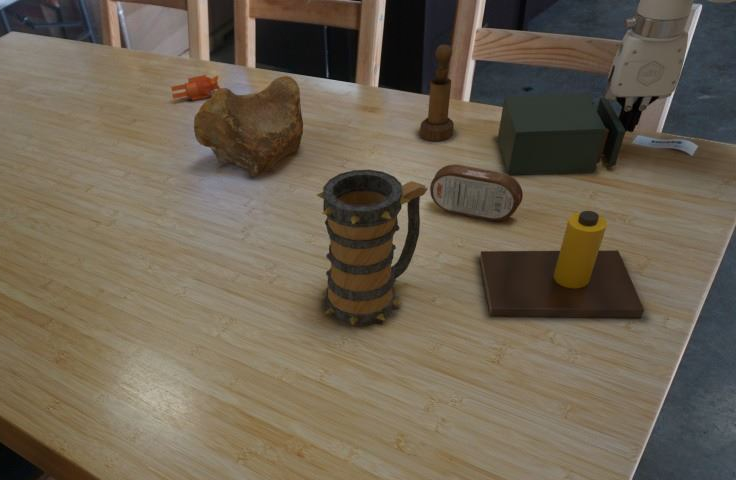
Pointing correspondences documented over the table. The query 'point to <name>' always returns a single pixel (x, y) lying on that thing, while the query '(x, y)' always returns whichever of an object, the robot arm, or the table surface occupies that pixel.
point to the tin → (476, 192)
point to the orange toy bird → (197, 87)
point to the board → (556, 286)
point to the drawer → (610, 133)
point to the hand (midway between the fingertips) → (625, 128)
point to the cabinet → (550, 134)
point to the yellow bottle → (579, 249)
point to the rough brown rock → (252, 125)
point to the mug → (366, 242)
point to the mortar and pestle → (439, 101)
